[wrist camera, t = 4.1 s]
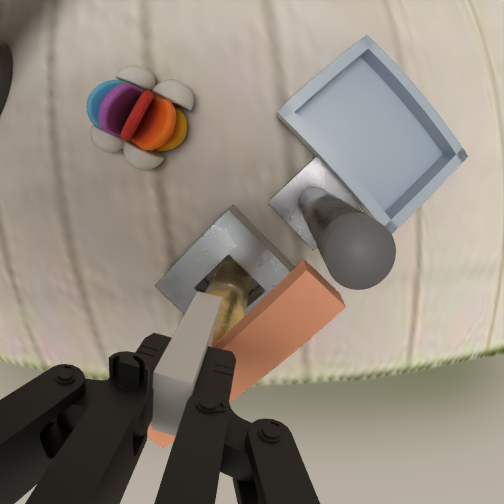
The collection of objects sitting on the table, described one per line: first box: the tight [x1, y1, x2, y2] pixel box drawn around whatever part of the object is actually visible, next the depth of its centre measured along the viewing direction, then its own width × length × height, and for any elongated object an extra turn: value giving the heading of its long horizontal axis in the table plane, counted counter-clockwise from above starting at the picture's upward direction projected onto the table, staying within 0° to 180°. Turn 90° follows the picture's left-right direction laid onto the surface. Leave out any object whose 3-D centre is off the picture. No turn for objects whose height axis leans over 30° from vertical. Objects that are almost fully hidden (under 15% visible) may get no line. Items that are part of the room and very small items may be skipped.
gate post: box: [268, 156, 365, 255], centre depth 21 cm, size 6×6×16 cm
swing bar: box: [147, 212, 396, 448], centre depth 16 cm, size 3×18×3 cm, turn 137°
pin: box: [204, 260, 252, 345], centre depth 25 cm, size 4×4×13 cm
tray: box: [277, 35, 468, 234], centre depth 25 cm, size 14×11×3 cm
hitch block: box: [155, 205, 295, 316], centre depth 30 cm, size 10×10×3 cm
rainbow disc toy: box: [87, 65, 194, 170], centre depth 24 cm, size 8×10×7 cm
